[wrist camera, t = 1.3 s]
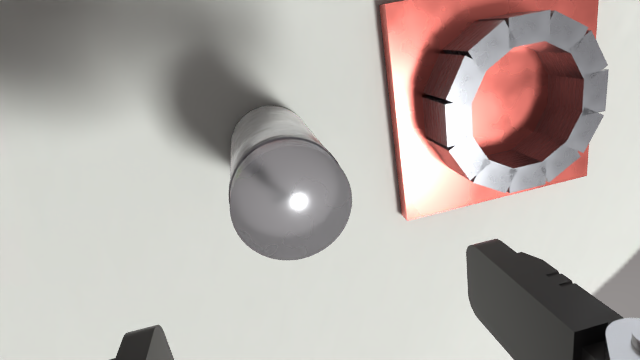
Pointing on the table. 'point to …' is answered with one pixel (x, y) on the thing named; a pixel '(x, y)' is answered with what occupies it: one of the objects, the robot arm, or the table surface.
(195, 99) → the table surface
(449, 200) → the collar
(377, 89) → the table surface
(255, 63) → the table surface
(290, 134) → the cylinder
